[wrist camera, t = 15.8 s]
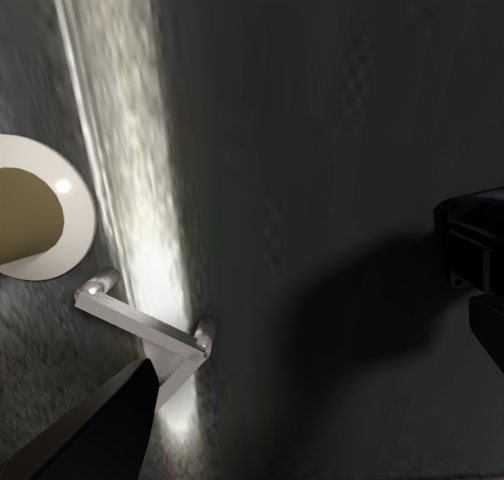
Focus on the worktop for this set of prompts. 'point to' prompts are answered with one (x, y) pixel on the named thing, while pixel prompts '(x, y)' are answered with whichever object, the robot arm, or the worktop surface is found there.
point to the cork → (27, 215)
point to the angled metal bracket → (149, 330)
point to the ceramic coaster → (70, 197)
